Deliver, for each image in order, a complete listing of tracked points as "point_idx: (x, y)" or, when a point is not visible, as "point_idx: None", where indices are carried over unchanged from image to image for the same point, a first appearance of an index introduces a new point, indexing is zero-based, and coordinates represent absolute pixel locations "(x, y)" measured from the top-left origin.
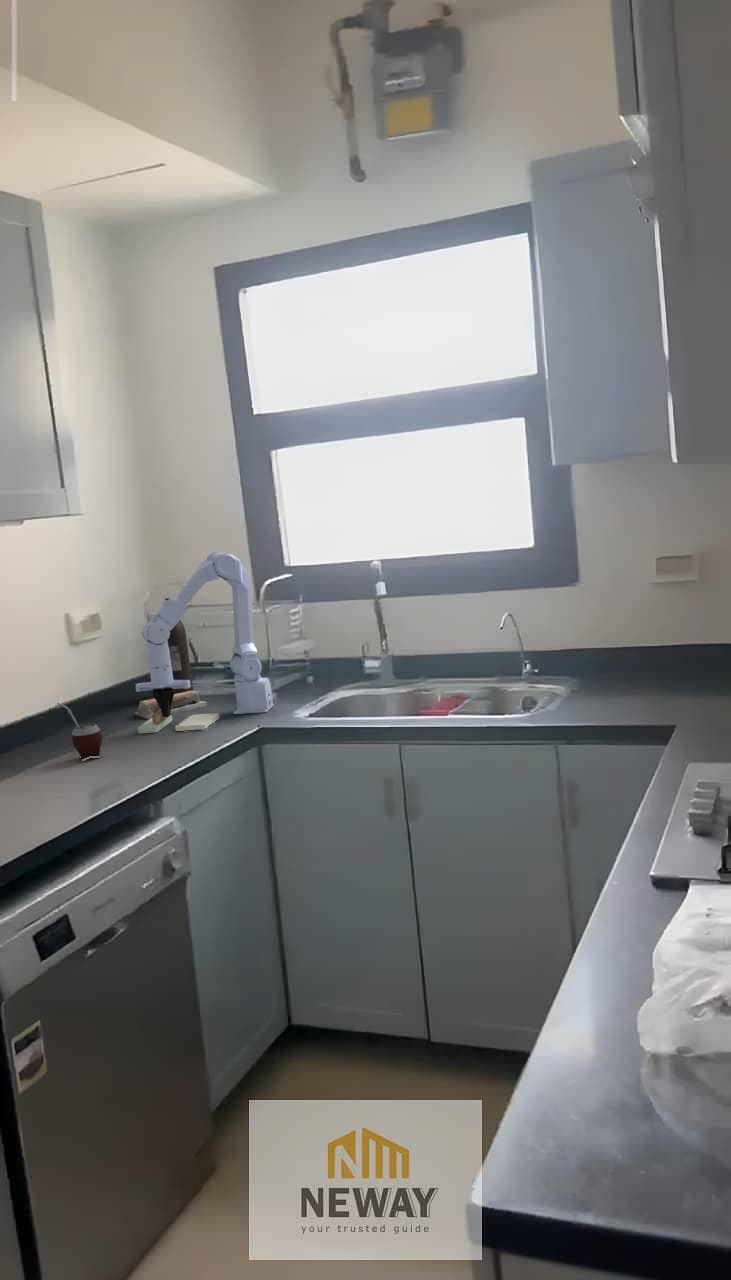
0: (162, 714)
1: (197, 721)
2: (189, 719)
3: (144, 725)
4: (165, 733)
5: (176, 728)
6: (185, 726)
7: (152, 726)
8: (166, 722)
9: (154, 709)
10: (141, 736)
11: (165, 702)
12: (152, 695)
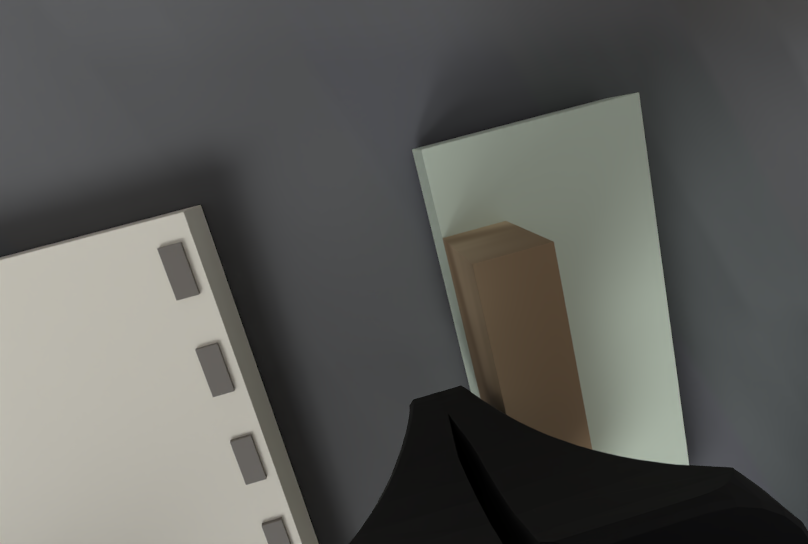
0: None
1: (34, 431)
2: (210, 492)
3: (611, 199)
4: (296, 145)
5: (179, 212)
6: (59, 245)
7: (478, 160)
8: None
9: None
10: (518, 12)
11: (424, 490)
12: (742, 477)
